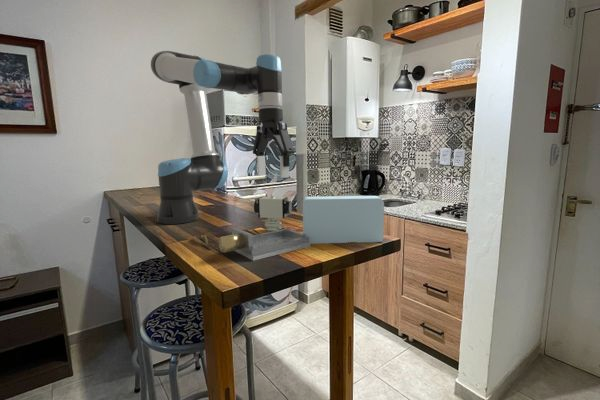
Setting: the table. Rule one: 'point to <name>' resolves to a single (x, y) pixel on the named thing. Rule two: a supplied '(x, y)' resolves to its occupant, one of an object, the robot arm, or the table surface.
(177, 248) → the table surface
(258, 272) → the table surface
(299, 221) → the table surface
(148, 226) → the table surface
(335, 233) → the pale blue rectangular block
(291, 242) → the cradle
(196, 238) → the tongs
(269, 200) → the pneumatic valve
